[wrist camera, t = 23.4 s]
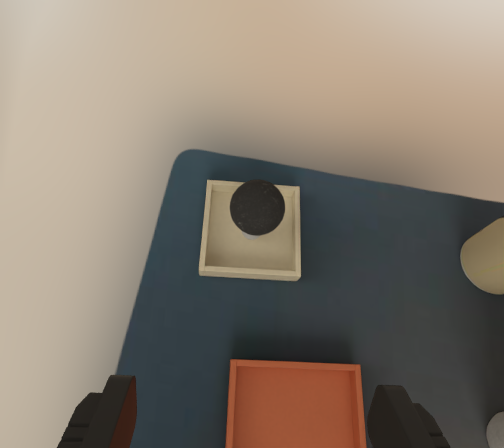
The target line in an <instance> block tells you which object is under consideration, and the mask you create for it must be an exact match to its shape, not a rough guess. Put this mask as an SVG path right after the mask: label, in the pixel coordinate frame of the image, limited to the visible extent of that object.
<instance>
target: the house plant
mask: <svg viewBox="0 0 504 448" xmlns="http://www.w3.org/2000/svg"><path fill="white" fill-rule="evenodd" d="M486 435H487V441H488V444H489V447H490V448H504V412H500V413H497V414H496V415H495V416H493V418H492V419H491V420H490V422H489V424H488V426H487V434H486Z"/></svg>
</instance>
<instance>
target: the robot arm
mask: <svg viewBox="0 0 504 448" xmlns="http://www.w3.org/2000/svg"><path fill="white" fill-rule="evenodd" d="M136 416H137V398H136V378H135V376H128V375H111V376H110V377H109V379H108V381H107V383H106V386H105V388H104V390H103V393H89V394H88V395H87V397H85V398H84V399H83V400H82V402H81V403H80V404H79V405H78V406H77V407H76V409H75V411H74V413H73V415H72V417H71V419H70V421H69V424H68V427H67V428H66V430H65V432H64V434H63V436H62V440H61V441H60V443H59V444H58V447H57V448H129V447H130V443H131V440H132V436H133V432H134V428H135V423H136ZM367 428H368V434H369V437H370V440H371V443H372V445H373V448H450V445H449V444H448V442H447V440H446V439H445V437H443V435H442V434H443V433H442V432H441V430H440V428H439V426H438V425H437V423H436V421H435V420H434V418H433V417H432V416H431V415H430V414H429V413H428V412H427V411H426V410H425V409H424V408H423V407H422V406H421V405H420V404H419V403H412V401H411V399H410V397H409V396H408V394H407V392H406V390H405V389H404V388H403V387H402V386H396V385H378V386H377V388H376V391H375V394H374V397H373V401H372V404H371V407H370V411H369V414H368V418H367Z"/></svg>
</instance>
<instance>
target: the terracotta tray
mask: <svg viewBox="0 0 504 448" xmlns="http://www.w3.org/2000/svg"><path fill="white" fill-rule="evenodd" d="M225 448H366V437H365V423H364V409H363V396H362V382H361V369H360V365H359V364H335V363H311V362H287V361H263V360H239V359H238V360H236V359H231V360H230V373H229V391H228V409H227V427H226V444H225Z"/></svg>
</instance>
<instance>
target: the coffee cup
mask: <svg viewBox="0 0 504 448" xmlns="http://www.w3.org/2000/svg"><path fill="white" fill-rule="evenodd" d="M460 260H461V265H462V268H463V270H464V272H465V274H466V276H467V277H468V278H469V280H470V281H471V282H472V283H473V284H474V285H475V286H477V287H478V288H480V289H481V290H483V291H485V292H488V293H492V294H504V216H502V217H501V218H499V219H498V220H496V221H494V222H493V223H491V224H490V225H488V226H487V227H485V228H484V229H482V230H481V231H479V232H478V233H476V234H475V235H473V236H472V237H471V238H469V239H468V240H467V241H466V242H465V243H464V245H463V246H462V249H461V254H460Z"/></svg>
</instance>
